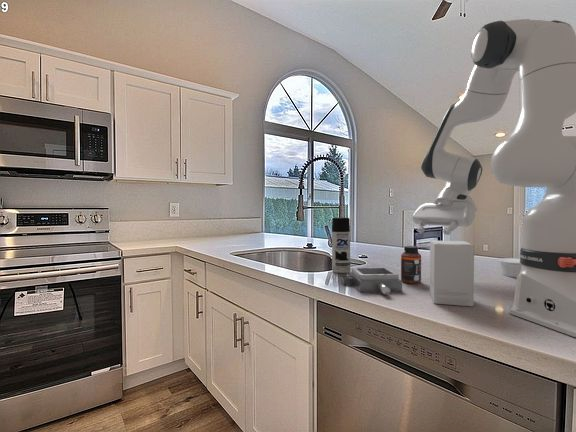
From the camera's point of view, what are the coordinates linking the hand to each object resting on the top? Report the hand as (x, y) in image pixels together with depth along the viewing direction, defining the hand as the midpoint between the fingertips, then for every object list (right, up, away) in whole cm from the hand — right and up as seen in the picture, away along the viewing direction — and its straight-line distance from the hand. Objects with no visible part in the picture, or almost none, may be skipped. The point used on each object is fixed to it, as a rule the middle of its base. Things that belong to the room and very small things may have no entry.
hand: (432, 232), depth 107 cm
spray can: (-29, -15, +11) cm, 34 cm away
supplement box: (-7, -16, -26) cm, 31 cm away
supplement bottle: (-9, -16, -6) cm, 19 cm away
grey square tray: (-24, -16, -13) cm, 31 cm away
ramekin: (+30, -15, +2) cm, 34 cm away
